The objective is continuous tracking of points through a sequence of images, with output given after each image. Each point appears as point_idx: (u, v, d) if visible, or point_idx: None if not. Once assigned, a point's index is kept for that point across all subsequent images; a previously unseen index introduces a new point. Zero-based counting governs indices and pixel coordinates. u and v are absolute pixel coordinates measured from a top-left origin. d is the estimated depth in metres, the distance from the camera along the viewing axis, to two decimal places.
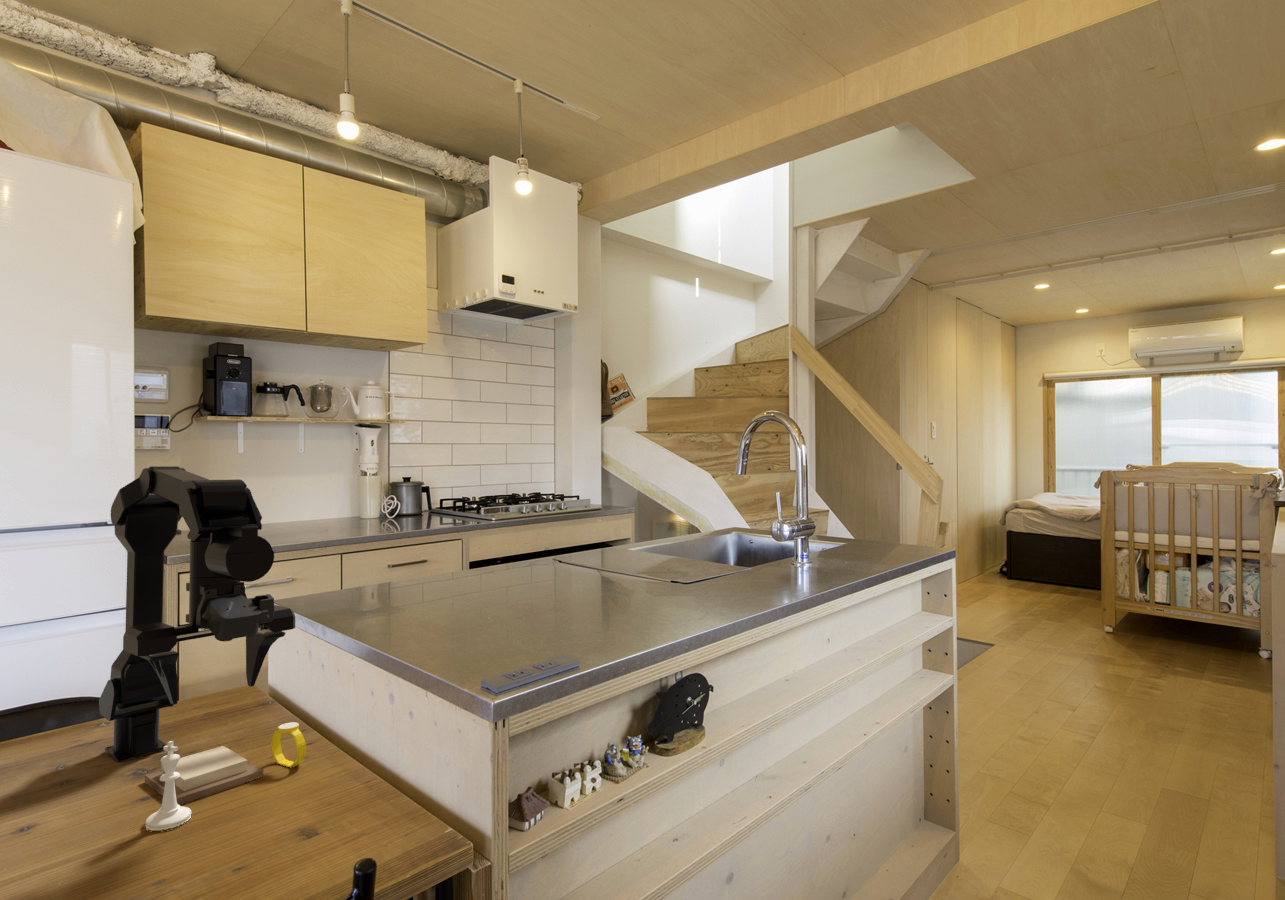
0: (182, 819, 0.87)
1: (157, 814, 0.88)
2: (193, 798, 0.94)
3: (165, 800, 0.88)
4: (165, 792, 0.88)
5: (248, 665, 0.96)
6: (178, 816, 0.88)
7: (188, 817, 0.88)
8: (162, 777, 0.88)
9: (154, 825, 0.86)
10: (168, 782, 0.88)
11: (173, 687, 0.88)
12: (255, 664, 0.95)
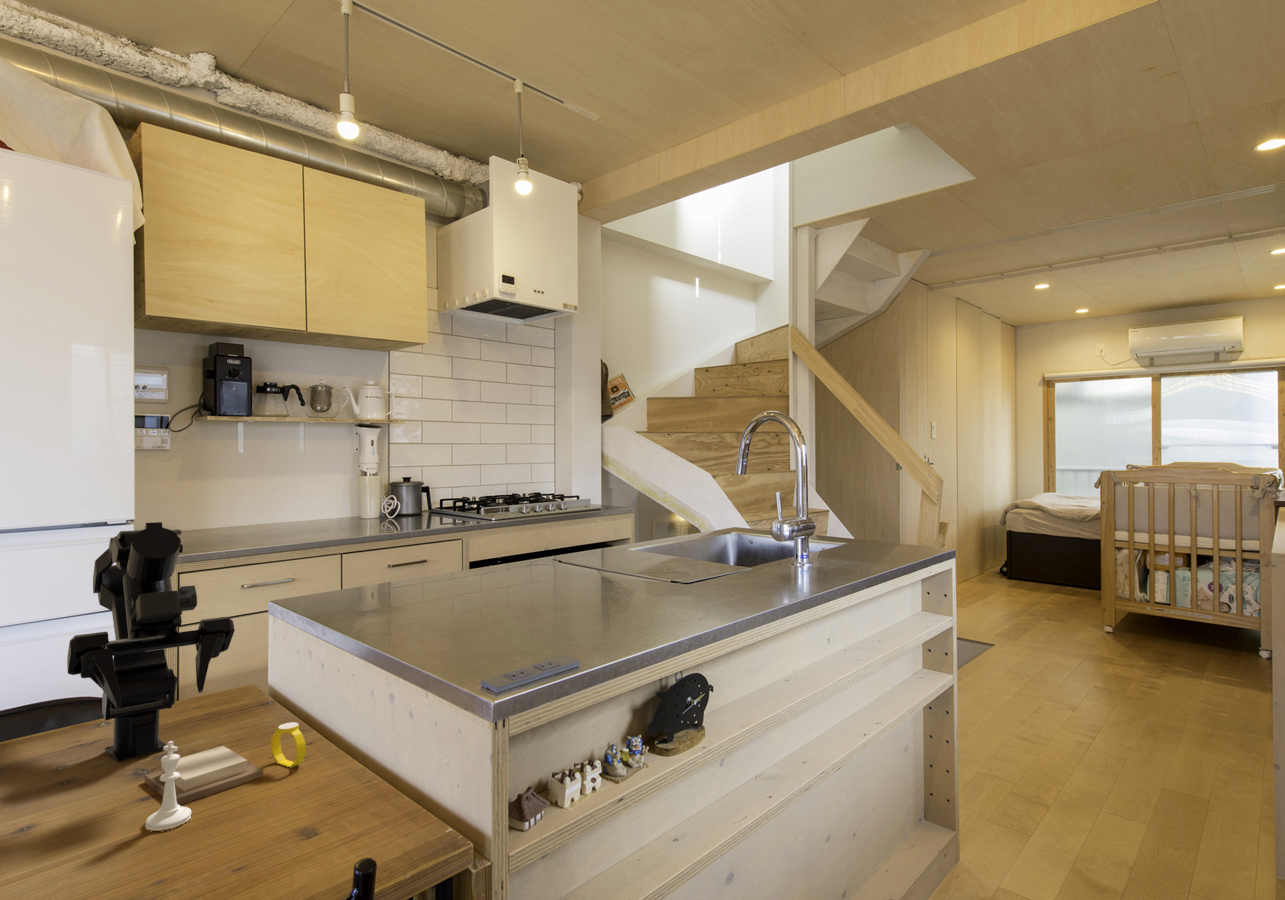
0: (182, 819, 0.87)
1: (157, 814, 0.88)
2: (193, 798, 0.94)
3: (165, 800, 0.88)
4: (165, 792, 0.88)
5: (197, 676, 0.99)
6: (178, 816, 0.88)
7: (188, 817, 0.88)
8: (162, 777, 0.88)
9: (154, 825, 0.86)
10: (168, 782, 0.88)
11: (114, 687, 0.91)
12: (200, 667, 0.98)
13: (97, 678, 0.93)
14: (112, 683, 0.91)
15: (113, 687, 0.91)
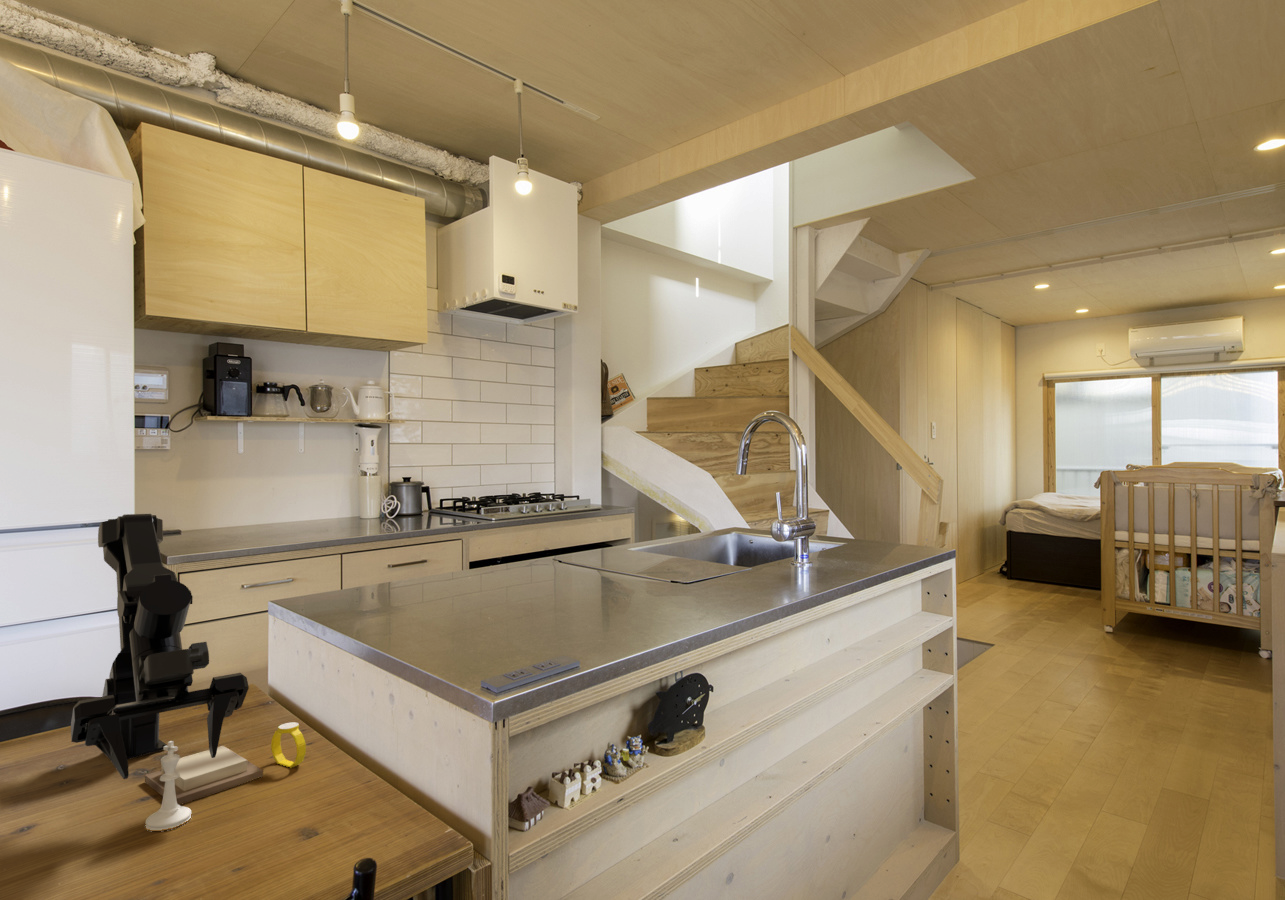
0: (182, 819, 0.87)
1: (157, 814, 0.88)
2: (193, 798, 0.94)
3: (165, 800, 0.88)
4: (165, 792, 0.88)
5: (209, 740, 0.93)
6: (178, 816, 0.88)
7: (188, 817, 0.88)
8: (162, 777, 0.88)
9: (154, 825, 0.86)
10: (168, 782, 0.88)
11: (121, 756, 0.85)
12: (213, 730, 0.92)
13: (103, 746, 0.87)
14: (119, 752, 0.85)
15: (120, 756, 0.85)
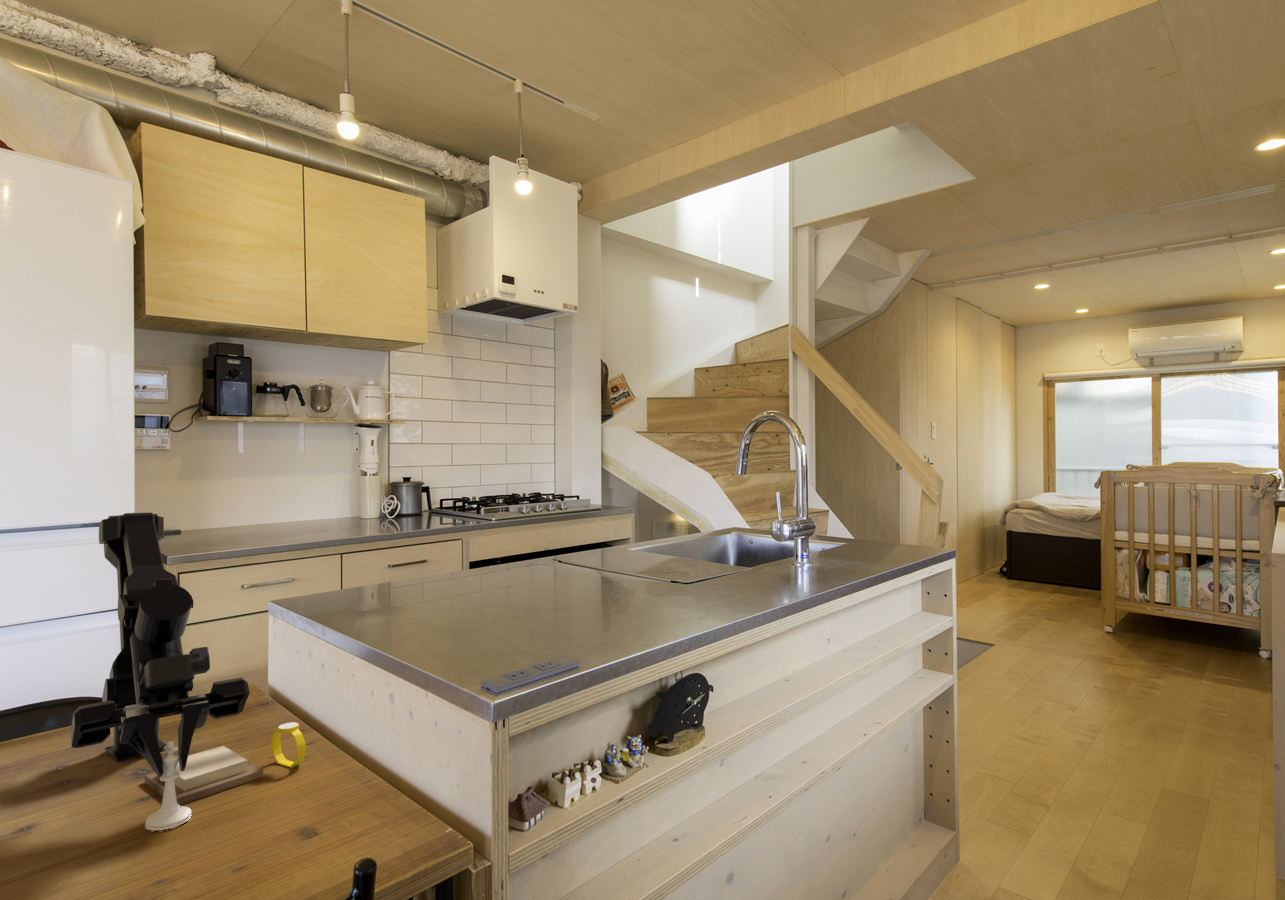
0: (182, 819, 0.87)
1: (157, 814, 0.88)
2: (193, 798, 0.94)
3: (165, 800, 0.88)
4: (165, 792, 0.88)
5: (179, 752, 0.90)
6: (178, 816, 0.88)
7: (188, 817, 0.88)
8: (162, 777, 0.88)
9: (154, 825, 0.86)
10: (168, 782, 0.88)
11: (156, 754, 0.87)
12: (182, 742, 0.89)
13: (137, 744, 0.89)
14: (154, 750, 0.87)
15: (155, 755, 0.87)
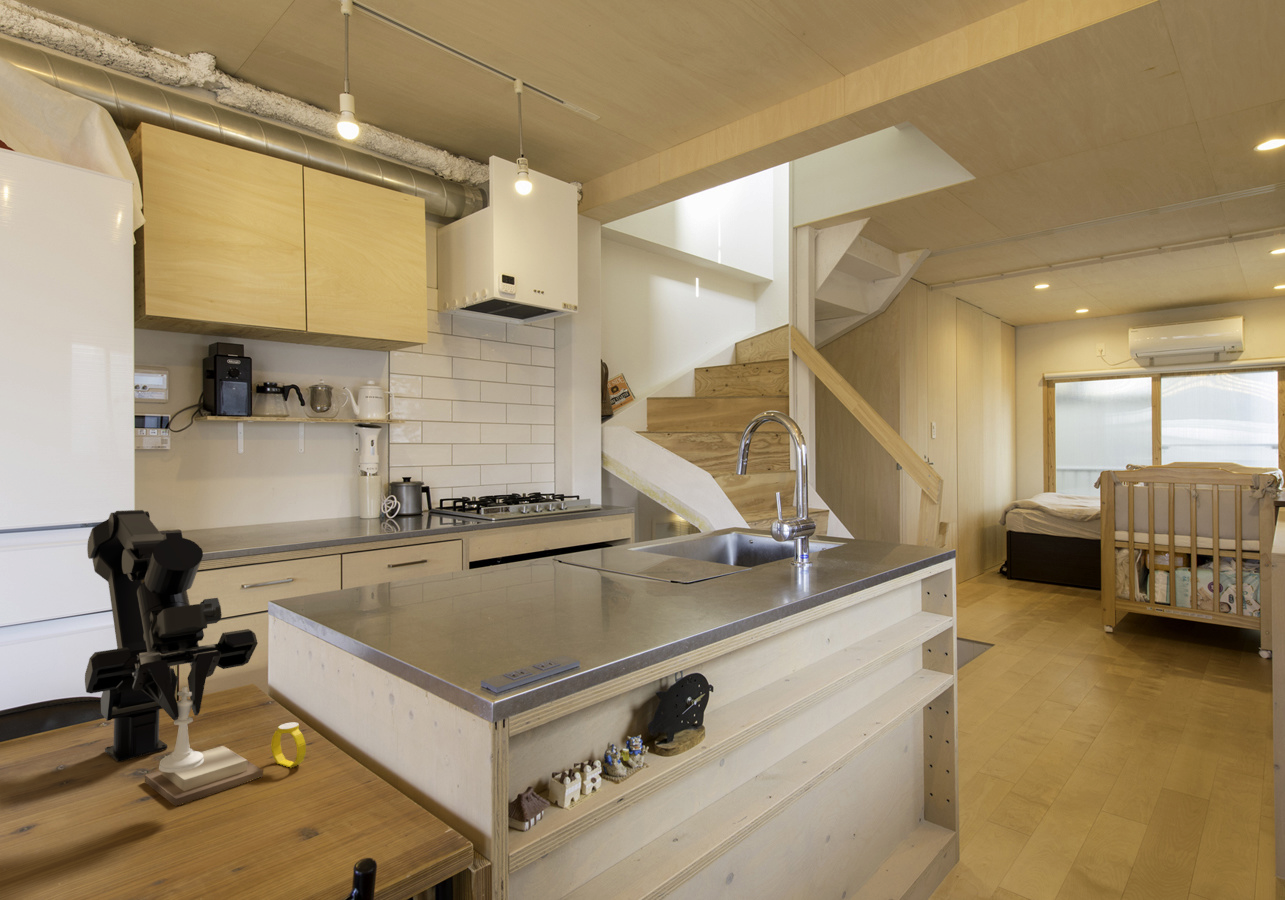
0: (195, 761, 0.91)
1: (170, 757, 0.91)
2: (193, 798, 0.94)
3: (179, 743, 0.91)
4: (179, 735, 0.91)
5: (192, 698, 0.93)
6: (191, 759, 0.91)
7: (201, 760, 0.92)
8: (176, 721, 0.91)
9: (169, 766, 0.89)
10: (182, 726, 0.91)
11: (171, 699, 0.90)
12: (195, 688, 0.92)
13: (150, 690, 0.92)
14: (169, 695, 0.90)
15: (170, 699, 0.90)
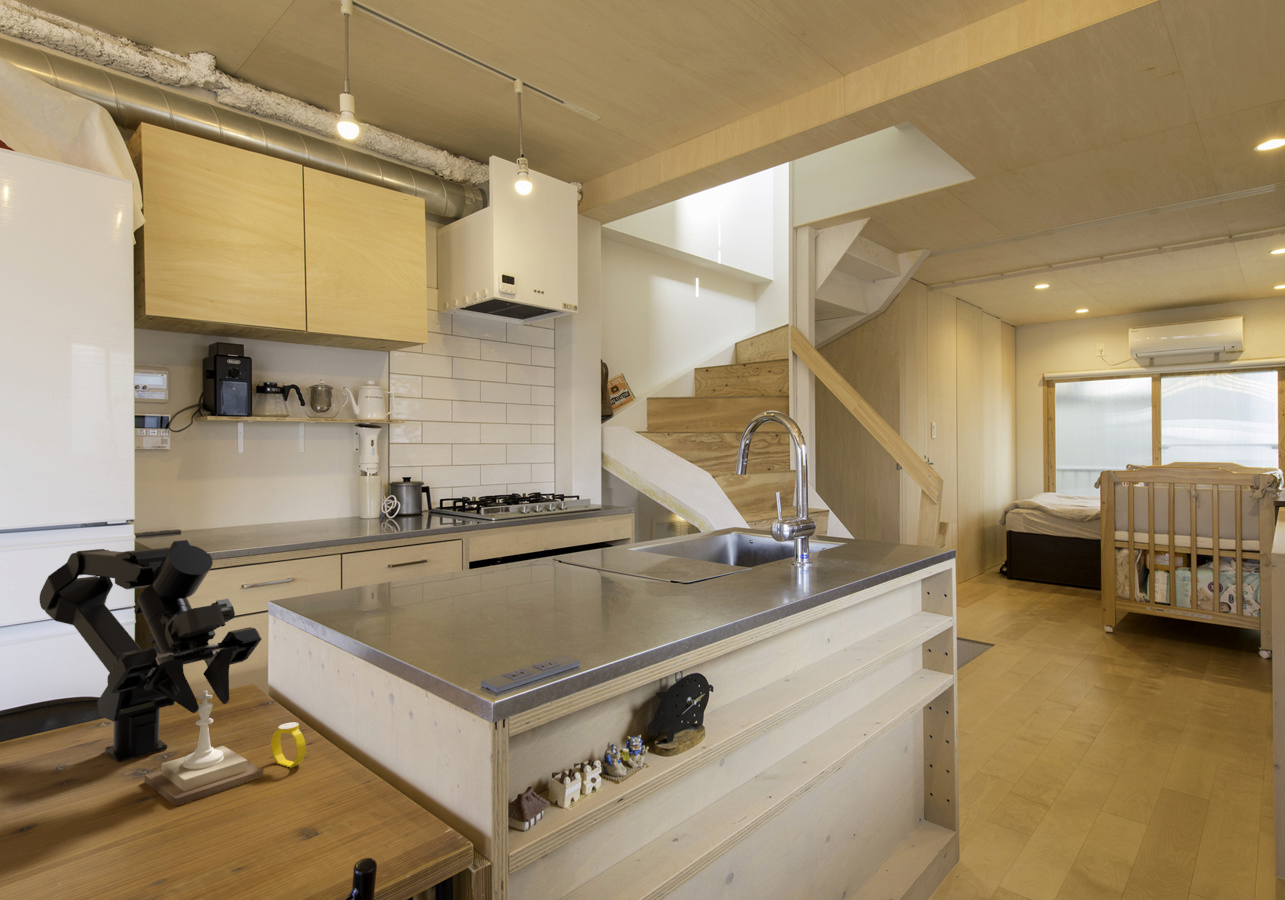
0: (219, 757, 1.00)
1: (194, 755, 0.99)
2: (193, 798, 0.94)
3: (202, 742, 0.99)
4: (202, 735, 0.99)
5: (217, 689, 1.02)
6: (215, 755, 1.00)
7: (222, 755, 1.01)
8: (199, 722, 0.99)
9: (197, 763, 0.97)
10: (204, 726, 0.99)
11: (189, 694, 0.97)
12: (222, 680, 1.02)
13: (163, 688, 0.98)
14: (187, 690, 0.97)
15: (189, 694, 0.97)
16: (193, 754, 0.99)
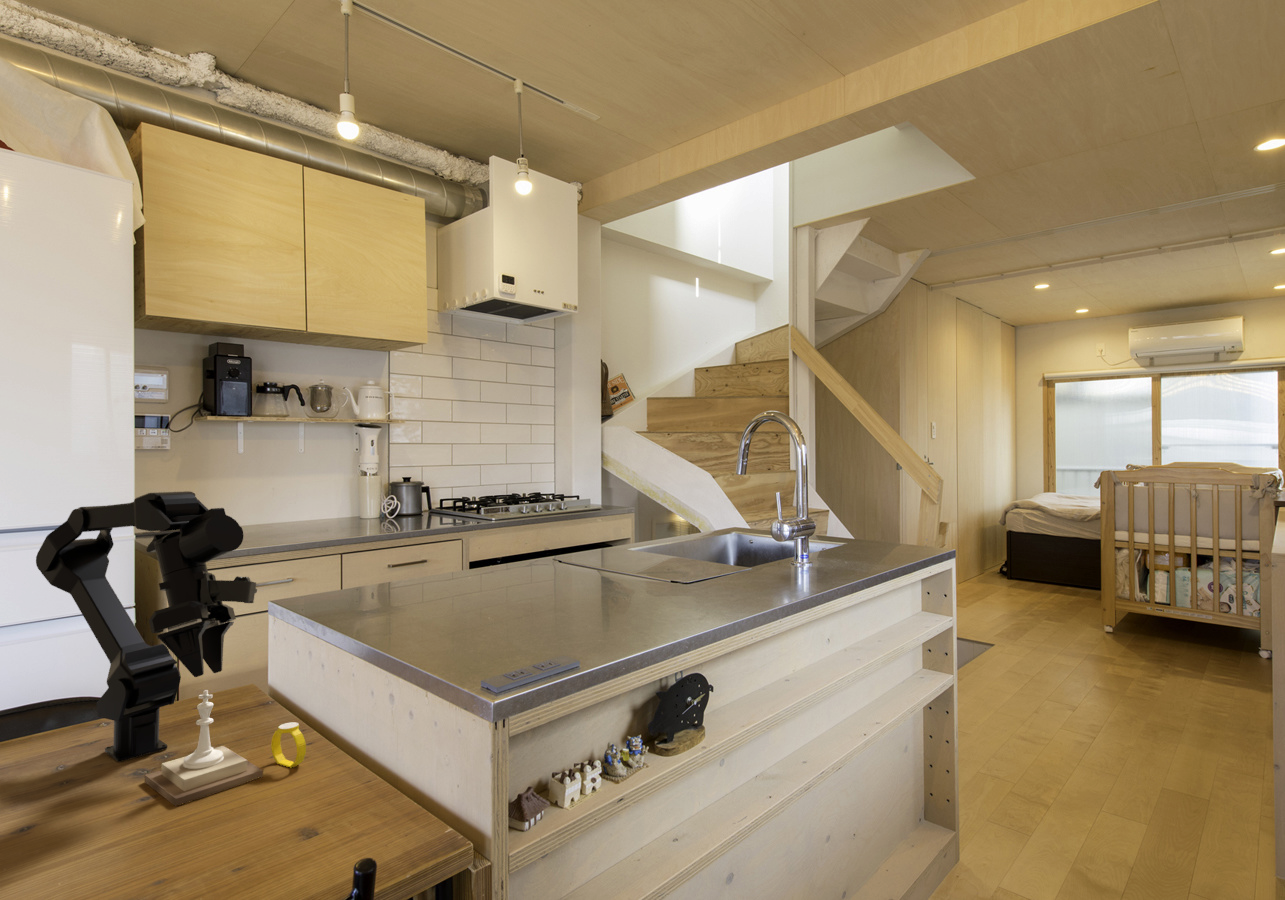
0: (219, 757, 1.00)
1: (194, 755, 0.99)
2: (193, 798, 0.94)
3: (202, 742, 0.99)
4: (202, 735, 0.99)
5: (208, 656, 1.08)
6: (215, 755, 1.00)
7: (222, 755, 1.01)
8: (199, 722, 0.99)
9: (197, 763, 0.97)
10: (204, 726, 0.99)
11: (202, 657, 0.99)
12: (221, 650, 1.08)
13: (173, 642, 0.98)
14: (201, 653, 0.99)
15: (201, 657, 0.99)
16: (193, 754, 0.99)
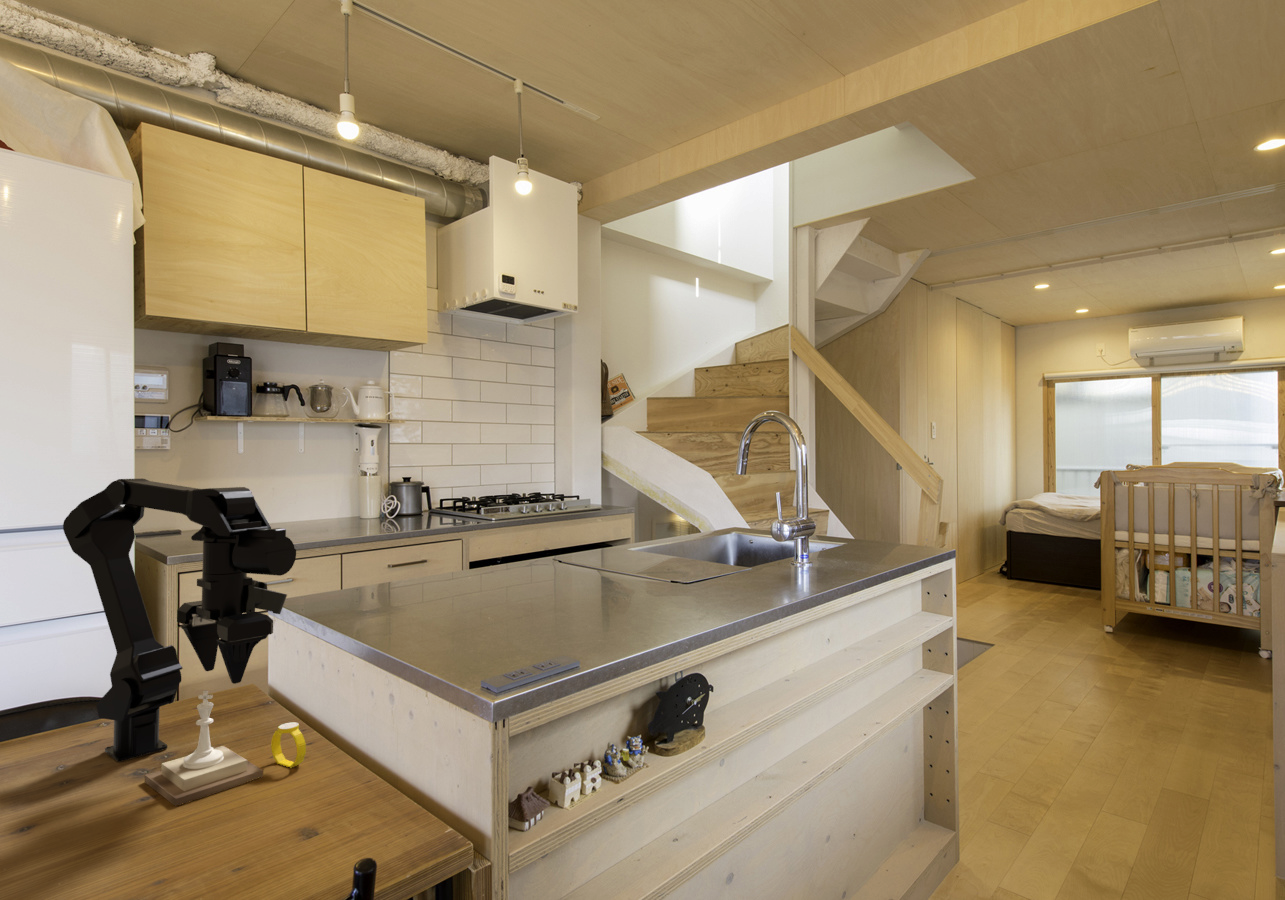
0: (219, 757, 1.00)
1: (194, 755, 0.99)
2: (193, 798, 0.94)
3: (202, 742, 0.99)
4: (202, 735, 0.99)
5: (204, 654, 1.07)
6: (215, 755, 1.00)
7: (222, 756, 1.01)
8: (199, 722, 0.99)
9: (197, 763, 0.97)
10: (204, 726, 0.99)
11: None
12: None
13: (230, 649, 1.00)
14: None
15: None
16: (193, 754, 0.99)
